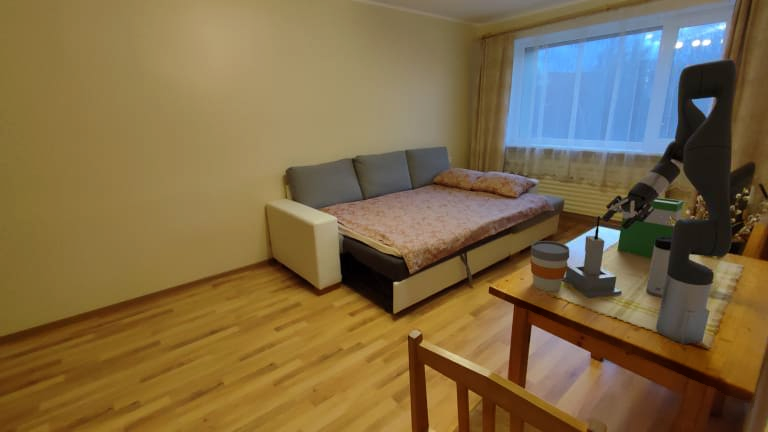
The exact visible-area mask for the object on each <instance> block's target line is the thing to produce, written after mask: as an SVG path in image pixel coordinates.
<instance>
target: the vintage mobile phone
mask: <svg viewBox="0 0 768 432" xmlns="http://www.w3.org/2000/svg"><path fill="white" fill-rule="evenodd" d="M596 220H597V221H596V229H595V234H594V235H586V236H585V243H584V244H585V245H584V247H585V248H584V252H585V254H584V261H583V264H584V268H583V273H585V274H587V275H588V276H598V275H600V270H601V268H602V261H603V256H604V255H603V254H604V247H605V240H604V239H603V238H601V237H599V230H600V229H599V226H600V220H601V216H600V215H598V216H597V219H596Z"/></svg>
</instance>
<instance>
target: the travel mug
mask: <svg viewBox="0 0 768 432" xmlns="http://www.w3.org/2000/svg"><path fill="white" fill-rule="evenodd" d="M671 241H672V238H671V237H661V238H656V241H655V245H654V250H653V256H652V258H651V263H650V267H649V273H648V279H647V283H646V290H645V291H646V293H648V294H650V295H652V296H654V297H658V298H662V295H663V290H664V285H665V280H666V275H667V270H668V261H669V255H670V249H671Z"/></svg>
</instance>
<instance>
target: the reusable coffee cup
mask: <svg viewBox="0 0 768 432" xmlns="http://www.w3.org/2000/svg"><path fill="white" fill-rule="evenodd" d="M530 255H531V258H530V271H531V273H532V283H533V284H532V285H533V286H534V288H536V289H538V290H540V291H544V292H557V291H559V290H560V289H561V286H562V283H563V277H564V276H565V274H566V269H567V266H568V265H569V264H568V259H570V247H569V246H568V245H566V244H564V243H561V242H558V241H552V240H541V241H540V240H538V241H534V242H533V243H531V247H530Z"/></svg>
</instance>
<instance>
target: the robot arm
mask: <svg viewBox="0 0 768 432" xmlns="http://www.w3.org/2000/svg"><path fill="white" fill-rule="evenodd" d="M736 79H737V67H736V63H735V61H734V60H733V59H730V58H728V59H727V58H726V59H719V60H713V61H712V60H711V61H704V62H699V63H698V62H697V63H693V64H688V65H686V66H684V68H683V69H682V70H681V73H680V75H679V80H678V87H677V88H678V89H677V125H676V129H675V136H674V139H673V140H672V141H670V143H668V145H667V147H666V149H665V151H664V153H663V154H662V156H661V157H660V160H658V162H657V164H656V165H655V166H654V167H653V168H652V169H651V170H650V171H649V172H648V173H647V174H645V175H644V176H643V177H642V178H640V180H638V181H637V183H636V184H635V185H634V186H633V187H632V188H631V189H629V191H628V193H627V196H626V197H622V196H621V195H619V194H618V195H616V196H615V197H614V198H613V199H612V200H611V201H610V202H609V203H608V204H606V206H605V208H606V209H607V211H606V212H605V214H604V215H603V216H602V219H601V220H602V221H604V222H605V223H608V222H609V221H610V220H611V219H612V218H613V217H614V215H615V214H618V213H623V212H629V213H630V218H629V217H628V218H627V219H626V220H625V221H624V222H623V223H622V222H621V224H620V228H621V227H622V228H623V229H625V230H626V229H628V228H629V227H630V226H631V225H632V224H633V223H634V222H637V221H640V222H643V221H644V220H645V219H646V218H647V217H648V216H649V215H650V214H651V213H652V212H653V211H654V208H653V207H652V206H651V205H650V204H651V203H652V202H653V201H654V200H655V199H656V198H659V197H660V196H661V195H662V194H663V193H664V191H665V190H667V188H668V187H669V185H670V184H672V182H674V181H675V179H677V178H678V176H680V174H681V168H680V167H679V166H678V165H677V164H676V163H675V162H678V163H681V164H682V165H683V166H682V168H683V169H682V171H683V173H684V175H685V177H686V178H687V180H688V181H689V182H690V184H691V185H692V186H693V187H694V189H695V190H696V191H697V192H698V193H699V195H700V196H701V199H702V200H703V201H704V204H705V206H706V210H707V214H708V219H706V218H705V219H704V218H703V219H700V218H687V217H686V218H683V217H682V218H680V219H679V220H678V221H677V222H676V223H675V225H674V228H673V233H672V241H671V249H670V255H669V261H668V270H667V275H666V280H665V285H664V290H663V295H662V297H661V299H660V307H659V311H658V316H657V322H656V325H655V328H656V330H657V332H658V333H659V334H660V335H662V336H664V337H666V338H667V339H669V340H672V341H675V342H678V343H680V345H687V344H693V343H694V344H696V343H701V342H703V341H704V336H705V331H706V327H707V325H708V319H709V316H710V309H707V305H708V301H709V296H710V292H711V289H712V285H713V280H714V276H715V273H714V272H713V270H712V269H711V268H709V267H707V266H706V265H705V264H701V263H699V262H696V261H694V260H692V259H690V255H694V256H704V257H716V258H720V257H721V258H722V257H724V256H726V255H728V253H730V250H731V246H732V241H733V228H732V227H733V224H732V213H731V202H730V201H731V198H730V191H731V189H730V187H731V186H730V185H731V168H732V151H733V150H732V149H733V148H732V147H733V146H732V118H733V117H732V116H733V107H734V99H735V88H736ZM708 98H709V99H710V98H715V99H716V100H715V104H714V106H713V108H712V110H711V112H710V113H709V114H708V115H707V116H706V114H705V113H704V112H703V111H702V110H701V109H699V107H697V106H696V104H695V103H694V101H693V100H700V99H708ZM672 160H674V161H675V162H673V161H672ZM640 211H641V212H640ZM642 215H643V216H642Z"/></svg>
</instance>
